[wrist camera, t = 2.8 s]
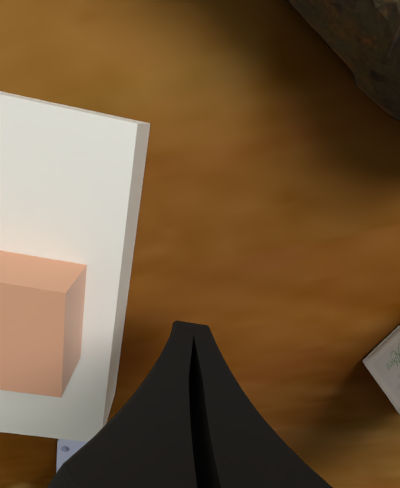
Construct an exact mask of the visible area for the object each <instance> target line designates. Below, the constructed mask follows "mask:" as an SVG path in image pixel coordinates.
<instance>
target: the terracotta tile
mask: <svg viewBox="0 0 400 488" xmlns="http://www.w3.org/2000/svg"><path fill="white" fill-rule="evenodd" d="M86 271H87V265H84V264H79V263H73V262H67V261H61V260H55V259H49V258H43V257H37V256H31V255H25V254H19V253H13V252H7V251H1V250H0V390H5V391H13V392H21V393H29V394H37V395H45V396H52V397H60V398H61V397H62V395H63V393H64V391H65V389H66V387H67V385H68V383H69V381H70V379H71V377H72V375H73V372H74V370H75V368H76V366H77V364H78V362H79V360H80V358H81V343H82V329H83V314H84V300H85V286H86Z"/></svg>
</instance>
